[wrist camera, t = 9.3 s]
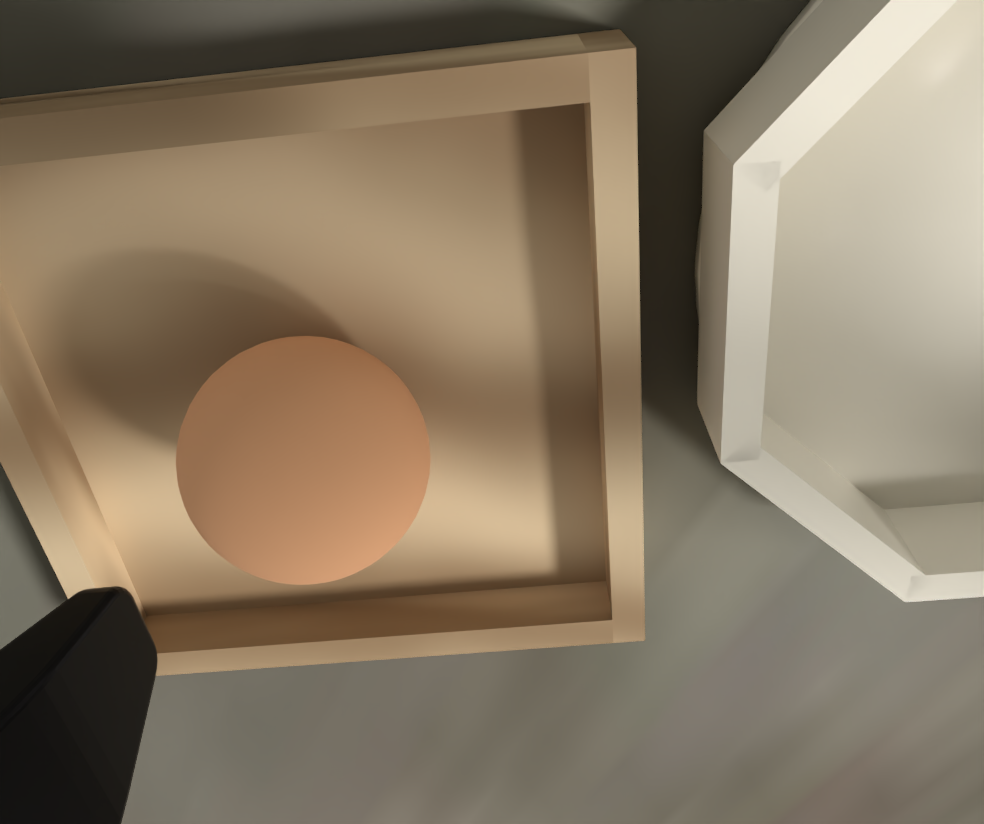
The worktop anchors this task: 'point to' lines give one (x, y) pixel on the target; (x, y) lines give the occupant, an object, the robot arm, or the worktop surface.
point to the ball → (303, 460)
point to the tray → (339, 334)
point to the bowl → (855, 287)
